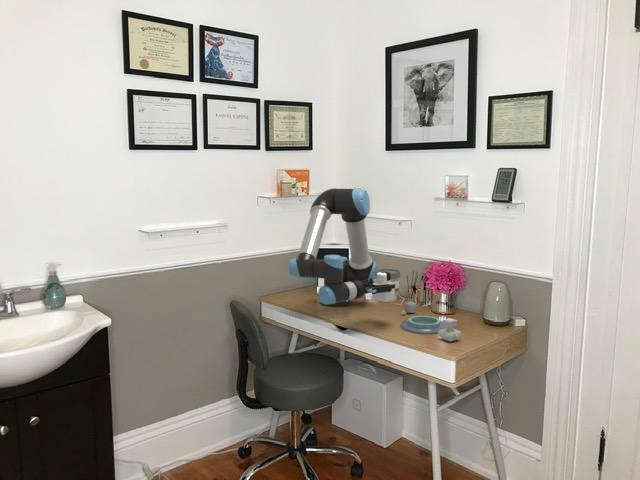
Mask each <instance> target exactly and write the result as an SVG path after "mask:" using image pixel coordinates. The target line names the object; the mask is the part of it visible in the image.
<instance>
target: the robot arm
mask: <svg viewBox="0 0 640 480" xmlns="http://www.w3.org/2000/svg"><path fill="white" fill-rule="evenodd" d="M370 209H371V204H370V197H369V193H368V192H367V190H365V189H364V188H358V187H357V188H356V187H355V188H336V187H335V188H329V189H327V190H324V191H323V192H321V193H320V194H319V195H318V196H317V197H316V198H315V199H314V201H313V202H312V204H311V205H310V210H309V214H310V217H309V220H308V223H307V226H306V230H305V232H304V235H303V239H302V242H301V245H300V248H299V252H298V255H297V257H295V258H291V259H290V260H289V261H288V262H289V263H288V273H289V275H290V276H291V277H295V278H312V279H313V278H314V279H323V285H322V286H320V287H319V288H318V293H317V295H318V299H319V301H320V305H322V306H324V307H332V308H333V307H334V308H336V307H337V308H340V307H341V308H342V307H347V306H350V305H351V301H352V300H357V299H361V298H363V296H364V295H366V294H369V293H370V294H371V295H372V294H376V293H383V292H391V289H396V288H399V289H400V285H399V282H400V281H399V282H393V283H388V284H385V285H374V284H373V283H377V277H376V271H377V270H378V269H377V268H378V262H376V261H374V260H373V257H372V256H371V255H369V254H370V253H369V246H368V240H367V239H368V238H367V232H366V225H365V220H366V218H367V216H368V215H369V213H370ZM332 215H340V217H341V219H342V220H343V221H344V222H345V227H346V233H347V239H348V247H349V253H350V258H349V260H348V257H347V256H342V255H338V254H326V255H324V257H323V259H317V256H318V253H319V249H320V247H321V244H322V243H321V242H322V238H323V236H324V233H325V230H326V226H327V223H328V221H329V220H330V218H331V216H332Z"/></svg>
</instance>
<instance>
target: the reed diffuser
mask: <svg viewBox="0 0 640 480" xmlns="http://www.w3.org/2000/svg"><path fill="white" fill-rule="evenodd" d="M414 273H416V274H415V277H412V278H411V283H413V281H414V283H413V284H411V287H410V286H409V285H407V290H408V292H409V294H408V301H407V302H406V303H405V306H404V307H405V310H404V309H402V311H401V313H400V314H401V315H402V316H404V315H407V313H410V314H411V313H416V307H417V305H416V302H414V301H413V300H414V298H413V295H414V290H415V287H416V283H417V280H418V277H419V274H418V272H415V271H414V270H413V271H412V276H414ZM414 278H415V279H414ZM406 280H407V283H409V279H408V276H406ZM409 287H410V288H409ZM412 288H413V289H412ZM410 290H412V291H410Z"/></svg>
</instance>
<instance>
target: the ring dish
mask: <svg viewBox="0 0 640 480" xmlns="http://www.w3.org/2000/svg"><path fill="white" fill-rule="evenodd" d="M400 328H401V329H402V330H404V331H406V332H409V333H413V334H418V335H420V334H421V335H436V334H437V335H439V334H438V331H439V330H442V329H447V326H446V325H444V323H443V320H441V319H439V318H438V317H435V316H432V315H431V316H430V315H429V316H428V315H414V316H410V317H409V318H408V319H404V320H403V321H401V323H400Z"/></svg>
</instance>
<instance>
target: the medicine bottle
mask: <svg viewBox="0 0 640 480" xmlns="http://www.w3.org/2000/svg"><path fill="white" fill-rule="evenodd" d="M376 279H377V283H373V284H374V285H385V284H388V283H391V274H390V273H389V272H378V273H377V277H376ZM371 295H372V297H371V298H372V300H374V301H379V302H384V303H386V302H387V301H390V300H392V299H394V298H395V289H391V292H383V293H376V294H372V293H371ZM387 303H388V302H387Z"/></svg>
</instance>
